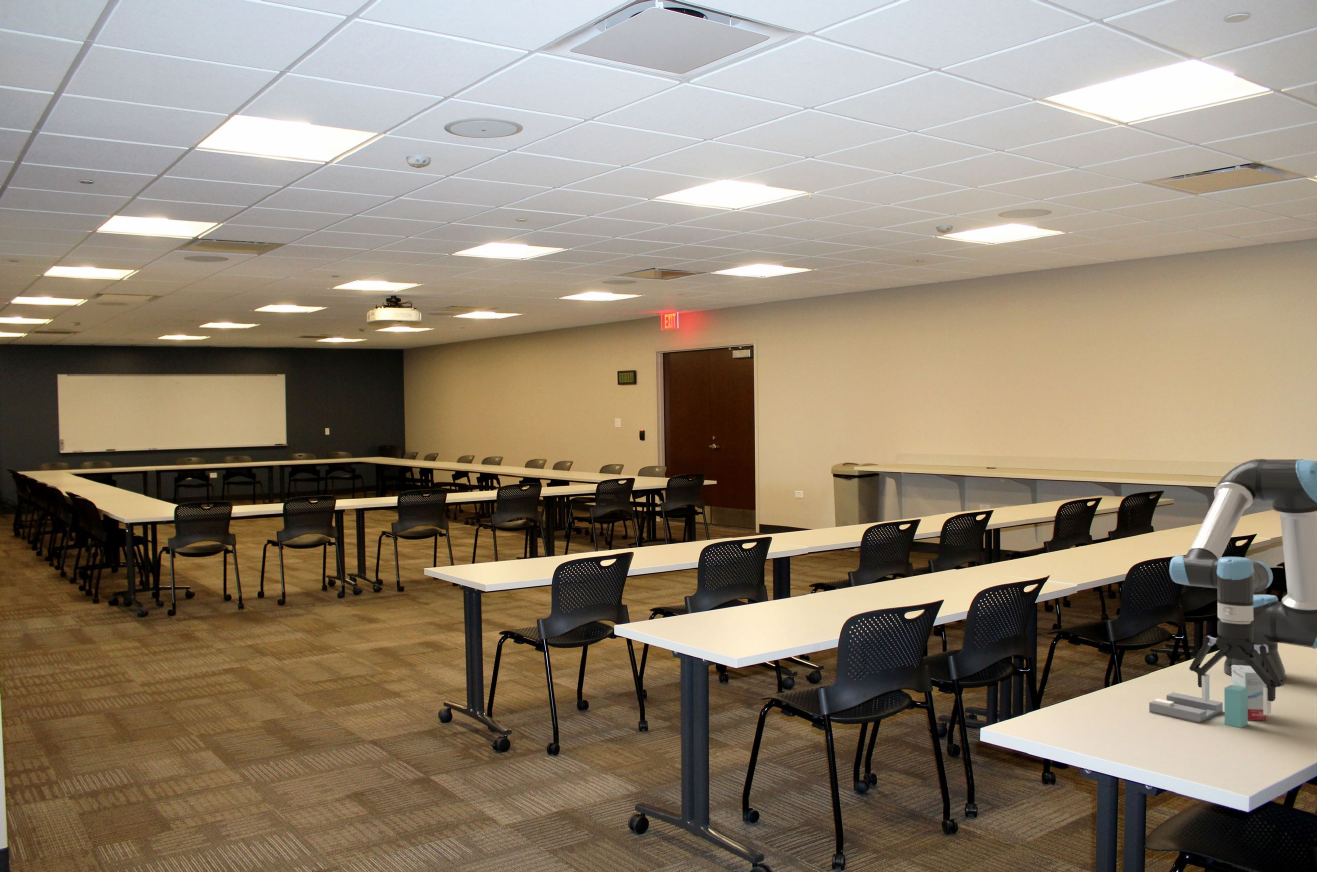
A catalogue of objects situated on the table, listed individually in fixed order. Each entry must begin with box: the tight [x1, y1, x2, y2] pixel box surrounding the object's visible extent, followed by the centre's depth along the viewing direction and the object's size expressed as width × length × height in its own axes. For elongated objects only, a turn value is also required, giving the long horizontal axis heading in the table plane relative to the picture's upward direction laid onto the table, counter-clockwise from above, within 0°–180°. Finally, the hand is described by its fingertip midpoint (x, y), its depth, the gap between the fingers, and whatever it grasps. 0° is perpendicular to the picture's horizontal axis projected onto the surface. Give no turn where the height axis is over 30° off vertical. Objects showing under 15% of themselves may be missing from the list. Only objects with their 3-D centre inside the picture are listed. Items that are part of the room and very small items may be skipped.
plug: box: [1223, 684, 1249, 729], centre depth 227 cm, size 4×4×9 cm
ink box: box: [1231, 665, 1267, 721], centre depth 234 cm, size 9×5×12 cm, turn 168°
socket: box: [1148, 691, 1224, 724], centre depth 237 cm, size 14×12×3 cm
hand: (1235, 707), depth 227 cm, fingers open, 13 cm apart
